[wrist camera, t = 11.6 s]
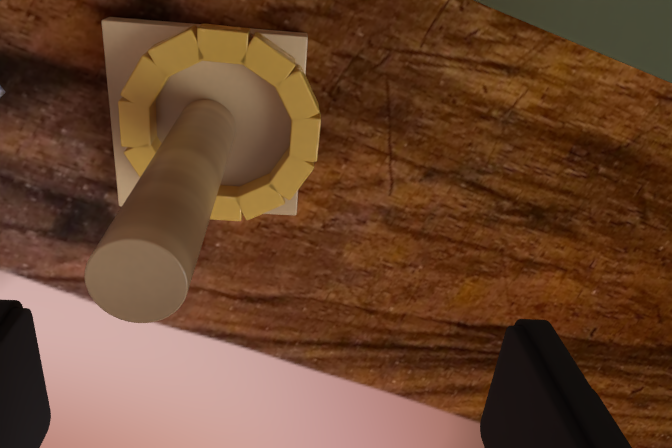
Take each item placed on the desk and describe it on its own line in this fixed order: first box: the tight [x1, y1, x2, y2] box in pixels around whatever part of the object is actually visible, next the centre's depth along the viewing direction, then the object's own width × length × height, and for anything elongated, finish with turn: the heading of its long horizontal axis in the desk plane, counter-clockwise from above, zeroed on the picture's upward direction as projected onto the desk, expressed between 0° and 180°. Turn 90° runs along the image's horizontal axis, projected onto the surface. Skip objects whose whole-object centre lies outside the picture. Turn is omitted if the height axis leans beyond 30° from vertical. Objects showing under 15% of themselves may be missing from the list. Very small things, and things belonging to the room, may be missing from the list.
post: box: [85, 17, 308, 323], centre depth 19 cm, size 8×8×13 cm
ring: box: [118, 23, 321, 221], centre depth 24 cm, size 8×8×1 cm
